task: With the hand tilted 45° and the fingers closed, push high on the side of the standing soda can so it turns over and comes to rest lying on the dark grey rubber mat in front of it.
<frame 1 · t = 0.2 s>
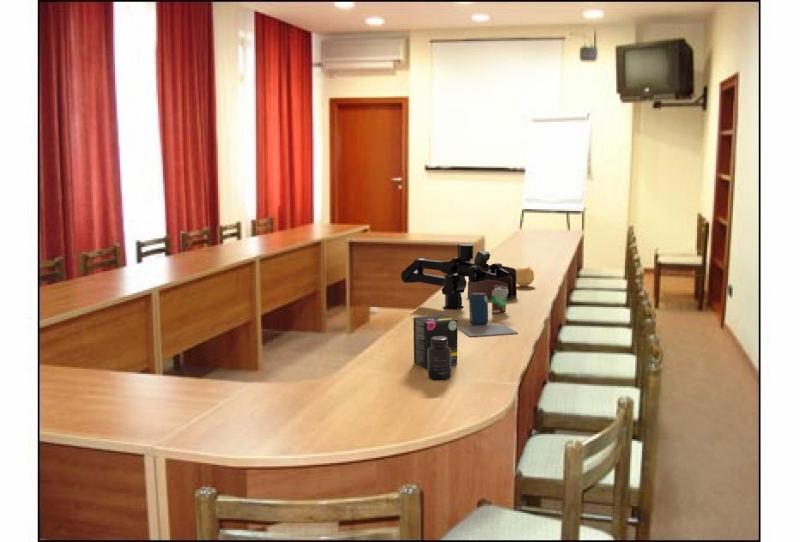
hand: (502, 275, 301), 16 cm above the table, tool horizontal, fingers open, 9 cm apart
soda can: (479, 325, 289), on the table, touching mat
letter holder: (492, 297, 344), on the table
tampon box: (435, 365, 237), on the table
stress ball: (523, 287, 369), on the table
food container: (500, 312, 312), on the table
supplement bottle: (439, 378, 223), on the table
mat: (487, 331, 279), on the table
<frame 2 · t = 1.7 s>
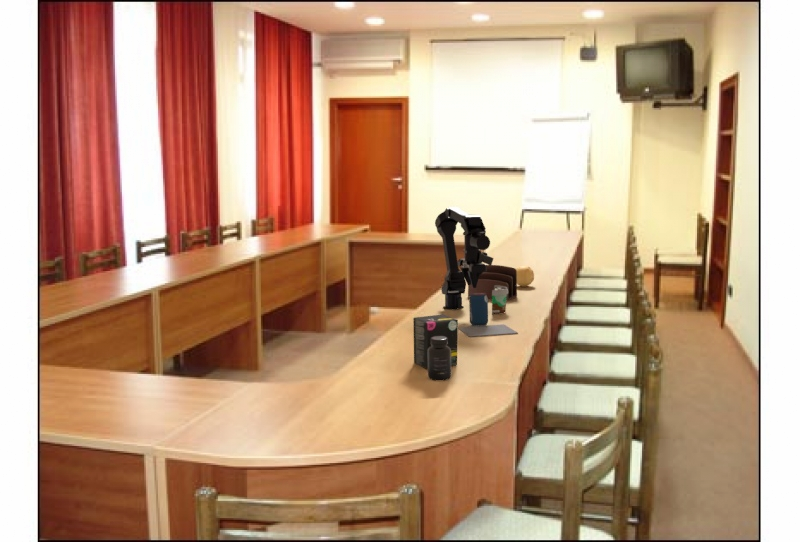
hand: (471, 286, 303), 12 cm above the table, tool pointing down, fingers open, 6 cm apart
nothing on the table moved.
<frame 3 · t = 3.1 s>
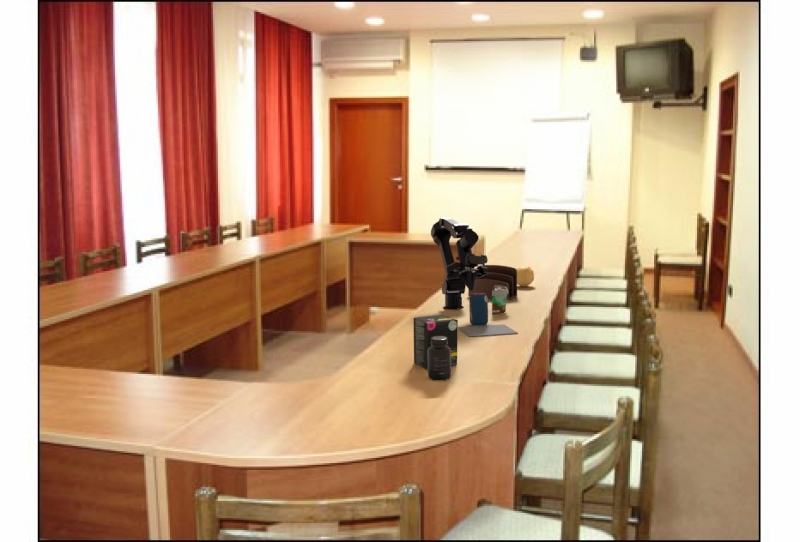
hand: (471, 290, 299), 11 cm above the table, tool tilted 30°, fingers closed
nothing on the table moved.
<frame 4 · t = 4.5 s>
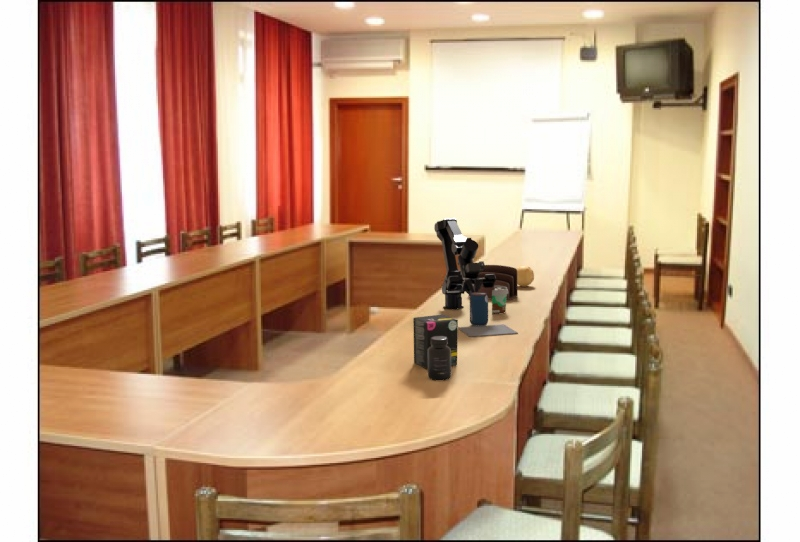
hand: (476, 299, 291), 9 cm above the table, tool tilted 45°, fingers closed
soda can: (479, 325, 289), on the table, touching gripper, mat
everything else where it was.
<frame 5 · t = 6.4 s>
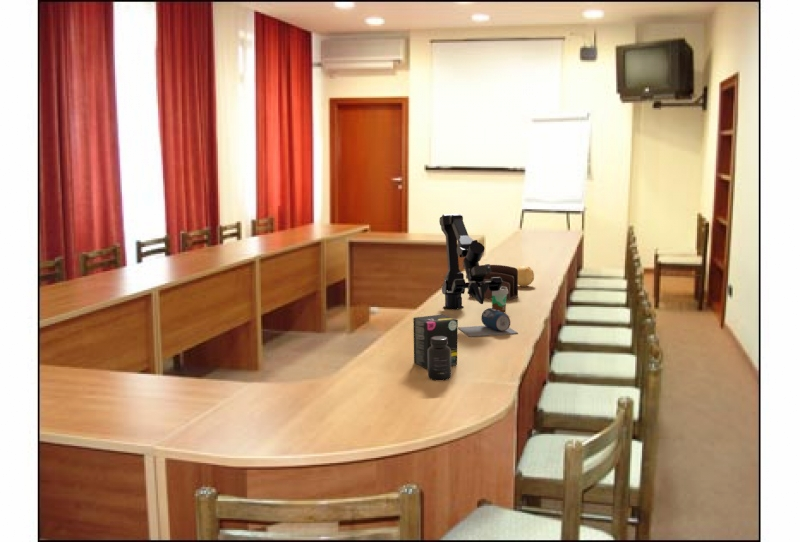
hand: (482, 303, 284), 9 cm above the table, tool tilted 45°, fingers closed
soda can: (487, 316, 286), point 4 cm above the table, touching mat
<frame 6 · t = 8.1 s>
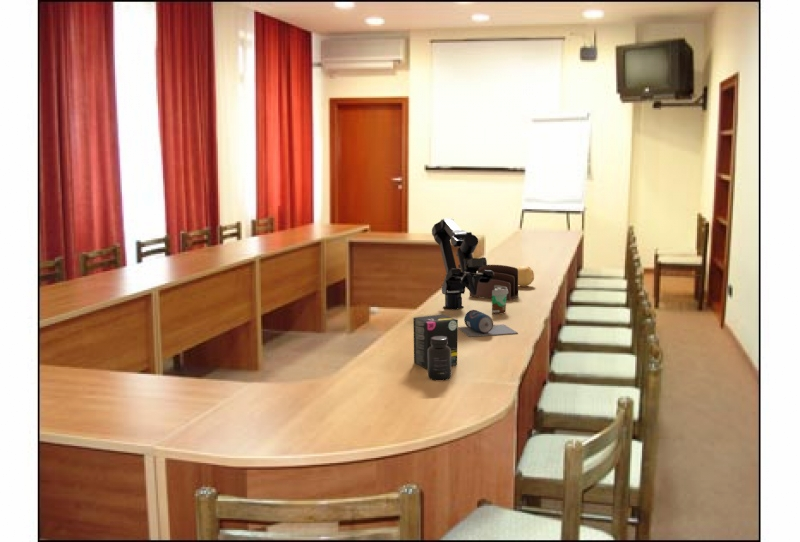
hand: (474, 294, 294), 10 cm above the table, tool tilted 40°, fingers closed
soda can: (471, 318, 283), point 4 cm above the table, touching mat
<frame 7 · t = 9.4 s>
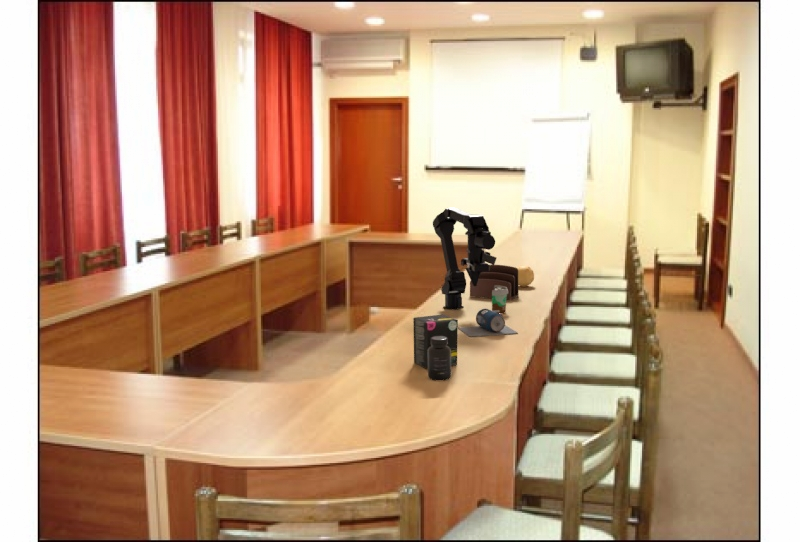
hand: (474, 285, 304), 12 cm above the table, tool pointing down, fingers closed
soda can: (482, 317, 285), point 4 cm above the table, touching mat
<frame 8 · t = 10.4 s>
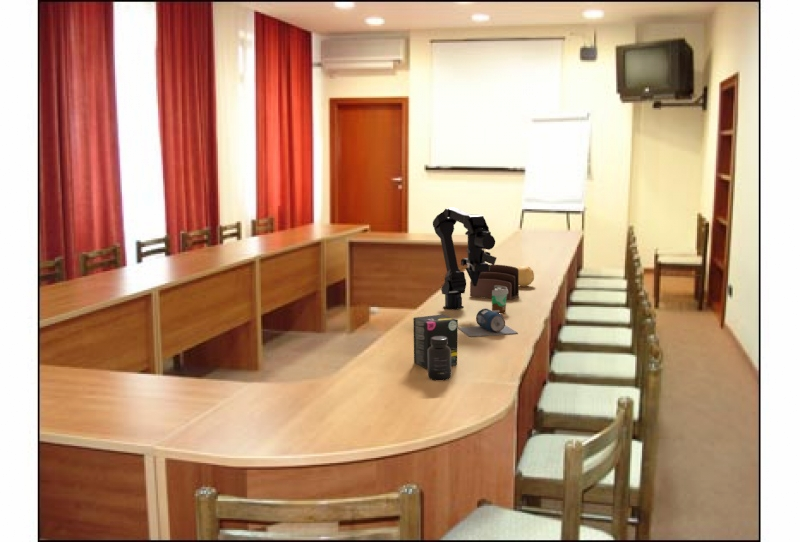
hand: (474, 285, 304), 12 cm above the table, tool pointing down, fingers closed
at the end: soda can tilted 90°; soda can 6.4 cm from the mat (horizontally); the gripper is holding nothing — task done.
